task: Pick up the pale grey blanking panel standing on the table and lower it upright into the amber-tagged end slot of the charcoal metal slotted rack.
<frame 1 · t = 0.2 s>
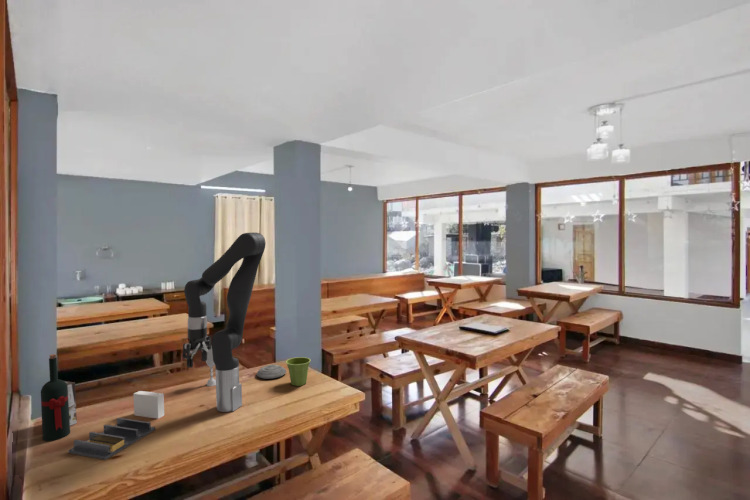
hand: (197, 363, 166), 18 cm above the table, tool pointing down, fingers open, 8 cm apart
rack: (114, 440, 139), on the table
wine bottle: (57, 437, 142), on the table
grey stone: (271, 375, 201), on the table
plant pot: (298, 383, 189), on the table
panel: (149, 415, 158), on the table
coffee box: (61, 425, 151), on the table
chalice: (211, 384, 190), on the table
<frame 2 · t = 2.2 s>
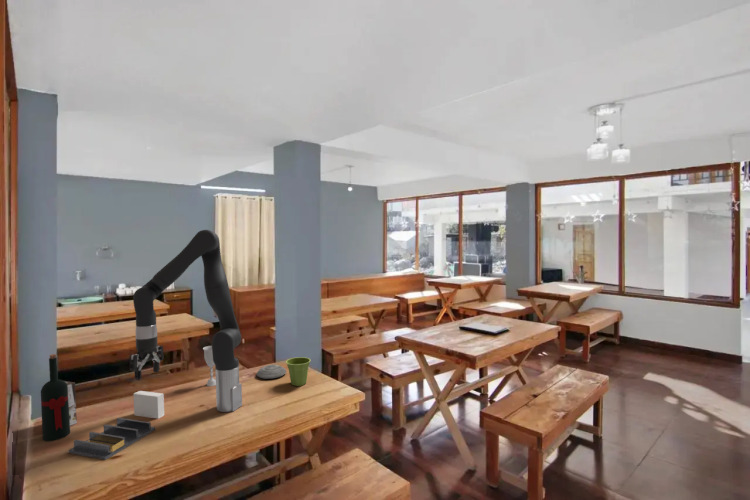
hand: (147, 375, 157), 16 cm above the table, tool pointing down, fingers open, 8 cm apart
nothing on the table moved.
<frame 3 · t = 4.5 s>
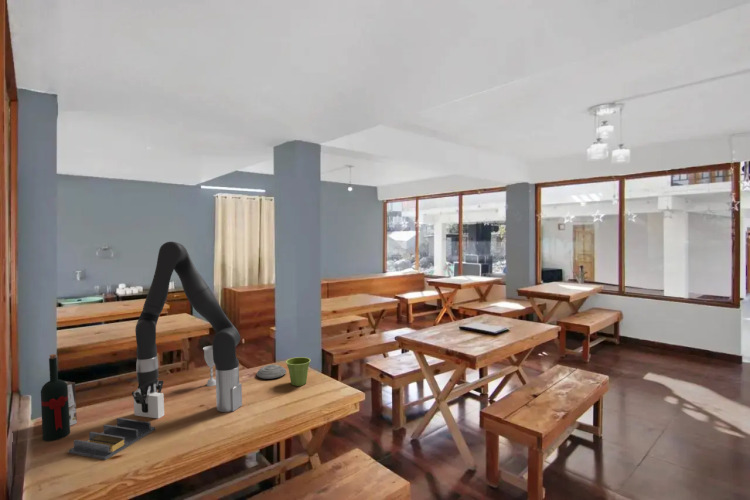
hand: (149, 409, 158), 2 cm above the table, tool pointing down, fingers closed on panel, 3 cm apart
panel: (149, 415, 158), on the table, touching gripper
everything else where it was.
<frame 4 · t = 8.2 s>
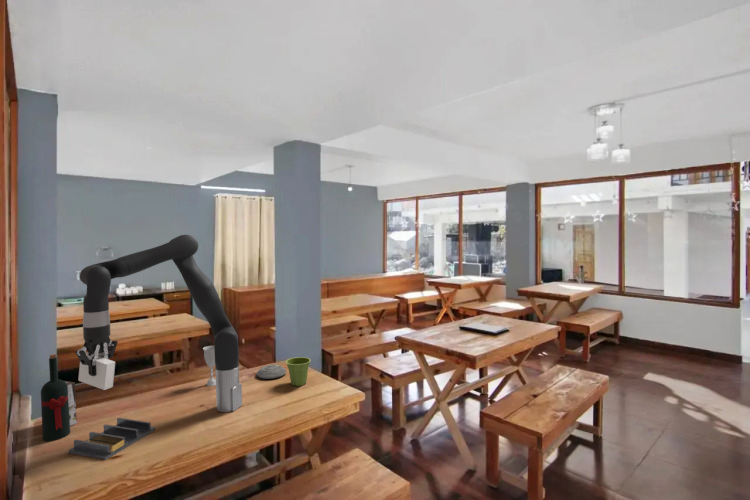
hand: (98, 373, 134), 26 cm above the table, tool pointing down, fingers closed on panel, 3 cm apart
panel: (95, 383, 134), point 22 cm above the table, tilted 10°, touching gripper
everything else where it was.
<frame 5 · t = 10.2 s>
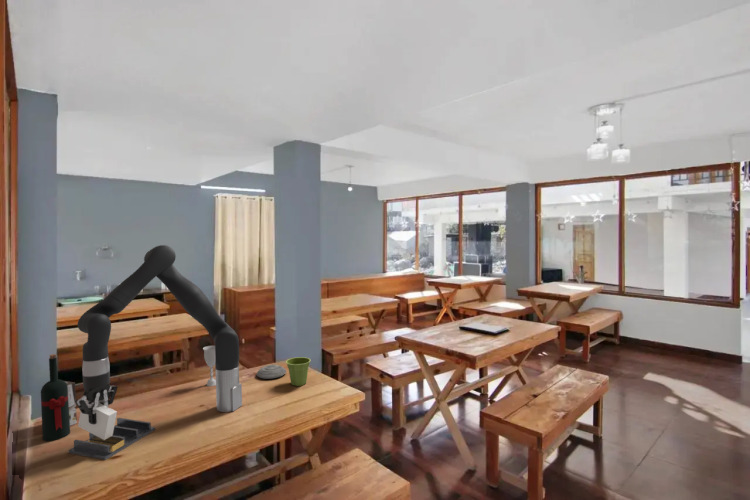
hand: (98, 421, 133), 10 cm above the table, tool pointing down, fingers closed on panel, 3 cm apart
panel: (95, 430, 134), point 6 cm above the table, tilted 16°, touching gripper
everything else where it was.
when the fingers open (5 cm above the table, at t = 12.1 s): panel stays where it is, resting on rack.
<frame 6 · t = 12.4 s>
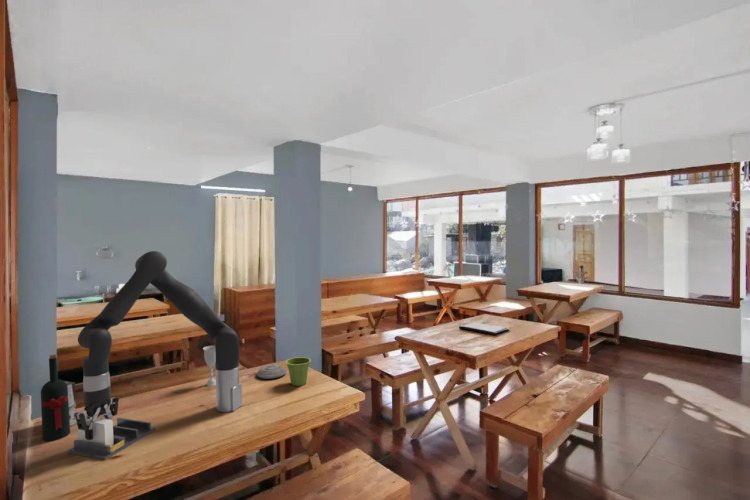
hand: (99, 434, 133), 5 cm above the table, tool pointing down, fingers open, 6 cm apart
panel: (96, 445, 133), point 1 cm above the table, touching rack
everything else where it was.
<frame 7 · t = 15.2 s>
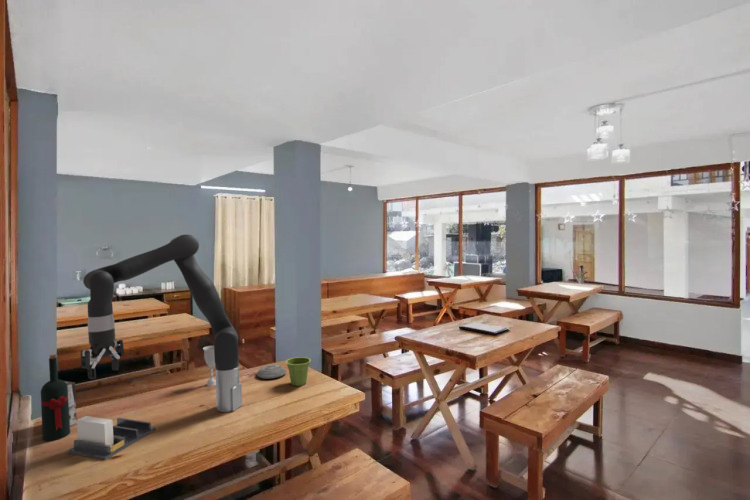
hand: (104, 374, 135), 25 cm above the table, tool pointing down, fingers open, 8 cm apart
nothing on the table moved.
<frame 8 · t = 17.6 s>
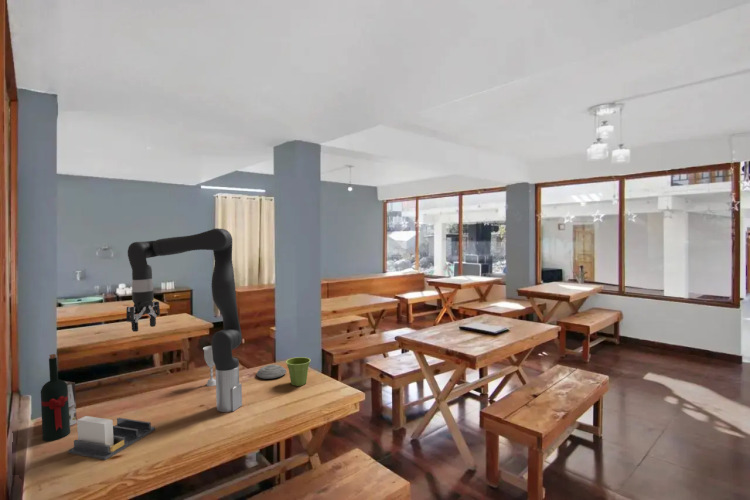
hand: (144, 328, 162), 34 cm above the table, tool pointing down, fingers open, 8 cm apart
nothing on the table moved.
at the end: panel 1.3 cm from the target spot on the rack, point 1.1 cm above the rack's base; panel tilted 0°; the gripper is holding nothing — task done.
